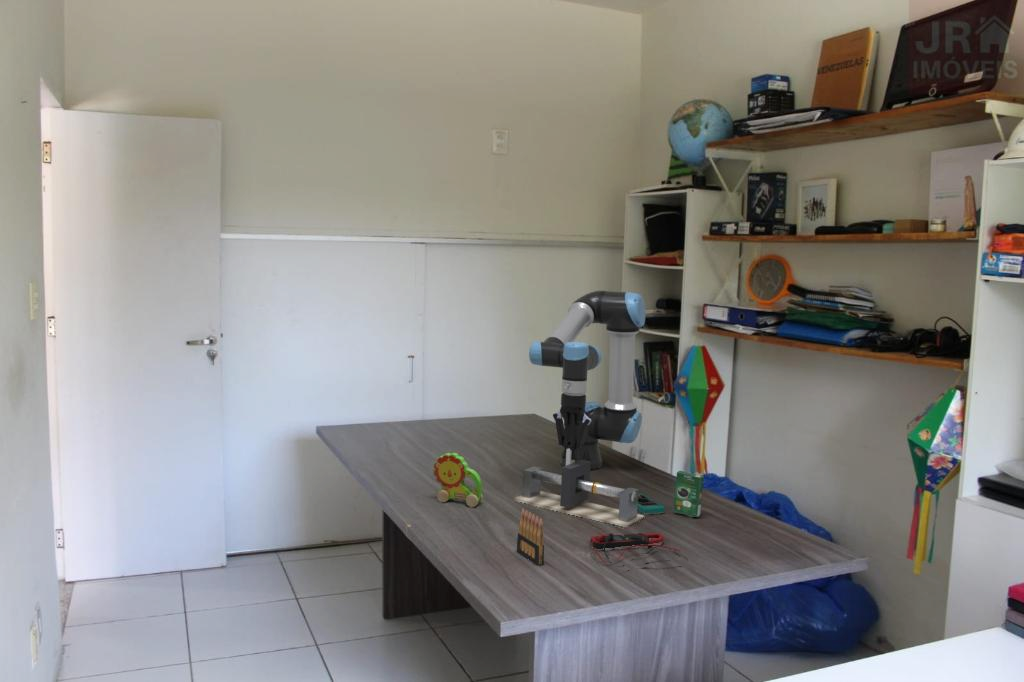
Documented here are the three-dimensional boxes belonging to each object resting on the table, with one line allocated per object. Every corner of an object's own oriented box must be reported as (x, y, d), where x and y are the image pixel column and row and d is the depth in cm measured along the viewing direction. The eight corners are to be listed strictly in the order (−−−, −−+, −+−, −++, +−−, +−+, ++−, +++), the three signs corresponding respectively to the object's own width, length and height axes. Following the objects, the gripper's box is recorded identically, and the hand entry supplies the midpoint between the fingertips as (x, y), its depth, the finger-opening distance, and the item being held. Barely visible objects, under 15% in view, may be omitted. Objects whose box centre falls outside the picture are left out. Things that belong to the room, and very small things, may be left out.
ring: (560, 506, 255) (562, 467, 254) (580, 497, 265) (582, 459, 264) (568, 508, 253) (570, 468, 252) (588, 499, 263) (590, 461, 262)
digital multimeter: (641, 500, 272) (641, 491, 272) (665, 515, 258) (665, 505, 258) (621, 502, 270) (621, 493, 269) (644, 517, 256) (644, 507, 255)
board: (513, 500, 265) (513, 497, 265) (534, 492, 275) (535, 489, 275) (625, 528, 243) (625, 525, 243) (644, 518, 253) (644, 515, 253)
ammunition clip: (516, 551, 222) (518, 507, 220) (522, 550, 222) (524, 506, 221) (537, 566, 212) (539, 519, 211) (543, 564, 213) (546, 518, 212)
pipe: (522, 496, 267) (523, 469, 266) (532, 492, 271) (533, 465, 270) (627, 522, 246) (629, 492, 245) (636, 517, 251) (638, 488, 250)
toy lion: (483, 503, 261) (485, 455, 259) (476, 508, 256) (478, 459, 254) (437, 496, 267) (439, 448, 265) (429, 500, 262) (431, 452, 260)
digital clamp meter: (575, 529, 230) (659, 523, 237) (574, 545, 230) (658, 539, 237) (609, 560, 207) (701, 553, 214) (608, 578, 208) (699, 570, 215)
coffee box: (701, 517, 257) (704, 475, 255) (697, 519, 254) (700, 476, 253) (676, 511, 261) (679, 469, 260) (672, 513, 259) (675, 471, 257)
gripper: (549, 391, 257) (545, 467, 260) (586, 397, 250) (581, 475, 252) (562, 389, 263) (558, 463, 266) (598, 394, 256) (594, 471, 259)
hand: (569, 469), depth 259 cm, fingers closed
